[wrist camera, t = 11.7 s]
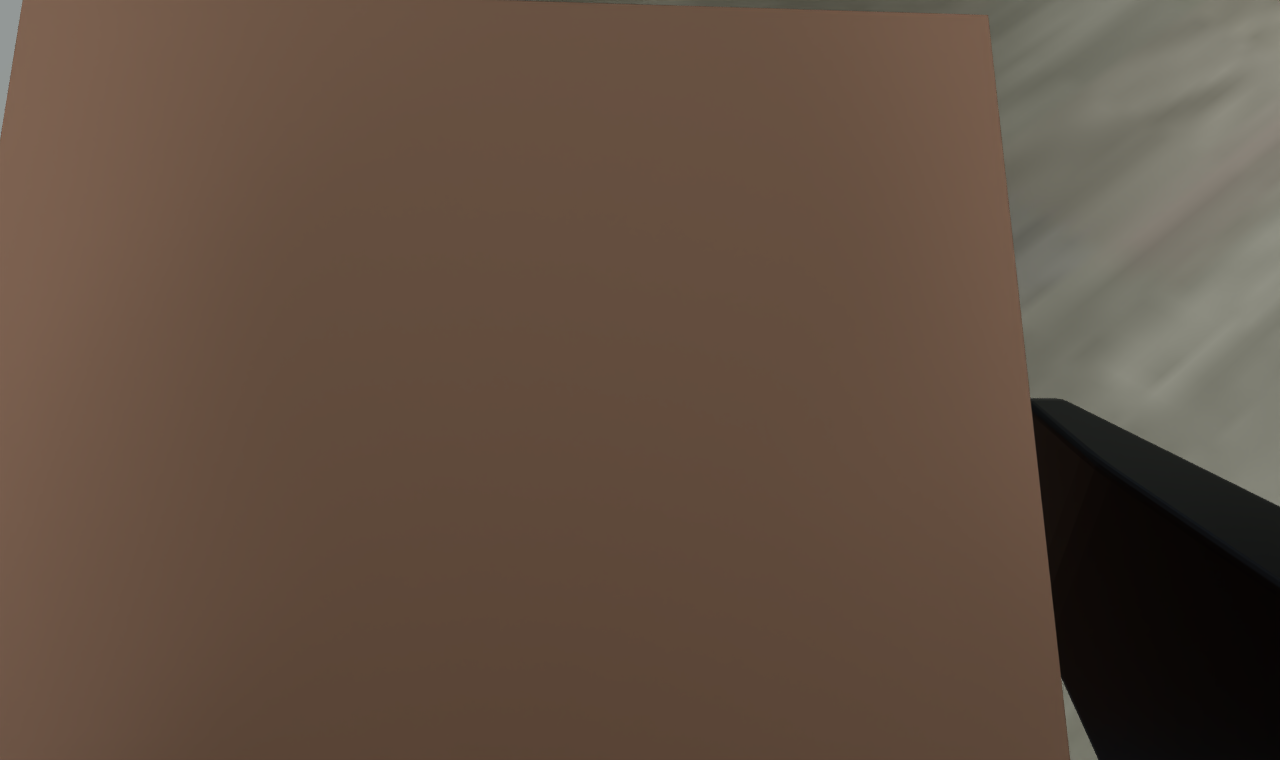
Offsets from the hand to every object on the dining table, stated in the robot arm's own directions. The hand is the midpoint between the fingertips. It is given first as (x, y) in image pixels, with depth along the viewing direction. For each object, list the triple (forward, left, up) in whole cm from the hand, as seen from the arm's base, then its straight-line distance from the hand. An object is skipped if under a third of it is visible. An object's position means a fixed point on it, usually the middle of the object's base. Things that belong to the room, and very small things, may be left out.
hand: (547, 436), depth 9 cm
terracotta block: (-1, +1, -8) cm, 8 cm away
